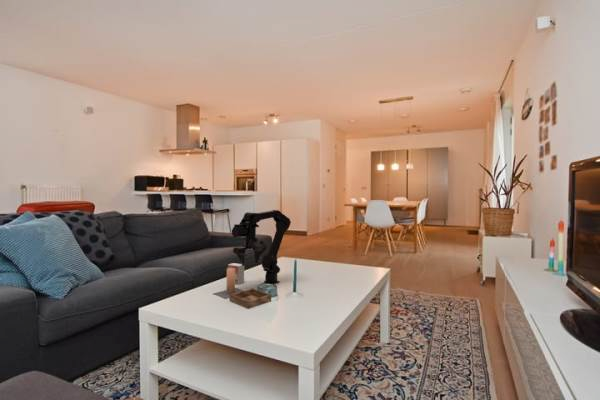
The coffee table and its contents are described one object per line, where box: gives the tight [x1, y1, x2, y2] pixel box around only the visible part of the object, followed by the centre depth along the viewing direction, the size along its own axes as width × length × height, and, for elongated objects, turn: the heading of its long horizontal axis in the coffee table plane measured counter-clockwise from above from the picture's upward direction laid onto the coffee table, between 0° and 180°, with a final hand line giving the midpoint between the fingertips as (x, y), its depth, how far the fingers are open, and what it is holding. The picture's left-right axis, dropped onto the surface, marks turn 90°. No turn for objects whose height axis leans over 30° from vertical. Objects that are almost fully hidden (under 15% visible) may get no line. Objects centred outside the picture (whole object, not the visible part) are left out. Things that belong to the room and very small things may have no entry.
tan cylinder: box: [226, 267, 236, 294], centre depth 163 cm, size 4×4×12 cm
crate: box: [229, 288, 272, 310], centre depth 152 cm, size 14×14×4 cm
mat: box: [212, 287, 244, 300], centre depth 163 cm, size 14×11×1 cm
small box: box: [227, 262, 245, 286], centre depth 183 cm, size 8×6×10 cm
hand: (249, 264), depth 173 cm, fingers open, 9 cm apart
